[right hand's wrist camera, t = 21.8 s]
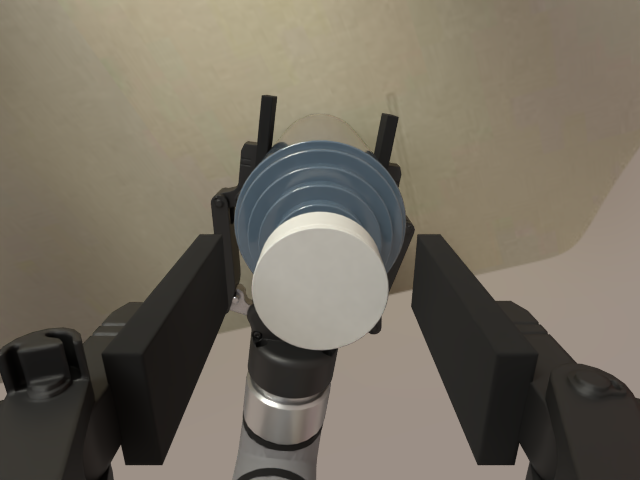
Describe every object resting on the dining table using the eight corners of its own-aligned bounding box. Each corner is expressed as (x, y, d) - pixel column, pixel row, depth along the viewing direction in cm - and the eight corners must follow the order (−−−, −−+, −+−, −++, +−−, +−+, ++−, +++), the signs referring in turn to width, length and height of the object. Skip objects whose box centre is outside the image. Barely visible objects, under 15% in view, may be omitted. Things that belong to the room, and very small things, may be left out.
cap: (292, 188, 13) (288, 202, 12) (403, 245, 14) (415, 265, 12) (239, 292, 15) (229, 318, 13) (344, 339, 15) (347, 369, 14)
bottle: (316, 217, 38) (311, 417, 15) (258, 155, 36) (148, 274, 13) (381, 162, 37) (488, 292, 13) (323, 94, 35) (331, 104, 11)
